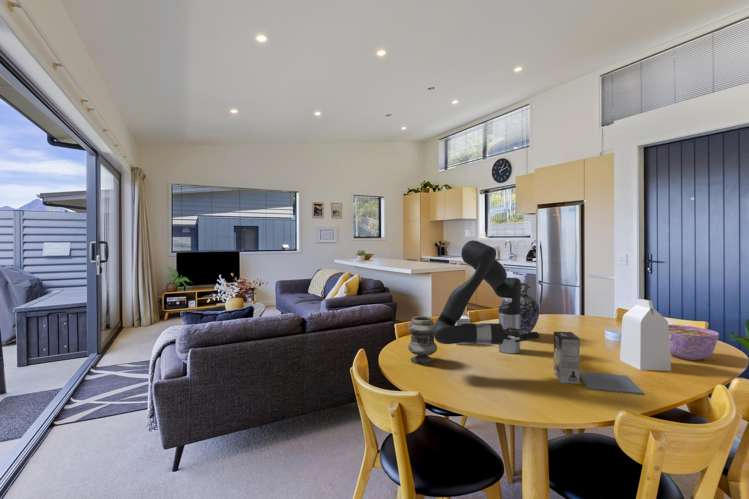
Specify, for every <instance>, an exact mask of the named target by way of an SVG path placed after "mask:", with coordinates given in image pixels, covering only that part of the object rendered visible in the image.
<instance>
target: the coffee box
mask: <svg viewBox="0 0 749 499" xmlns="http://www.w3.org/2000/svg"><path fill="white" fill-rule="evenodd" d="M580 342H581V341H580V338H579V337H578V336H577V335H576V334H575V333H574V332H572V331H553V374H554V376H555V377H556V378H557V380H558V381H559V382H560V383H561V384H574V385H576V384H577V385H580V376H579V371H580V356H581V354H580V346H581V345H580Z"/></svg>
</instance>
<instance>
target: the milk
mask: <svg viewBox="0 0 749 499" xmlns="http://www.w3.org/2000/svg"><path fill="white" fill-rule="evenodd" d="M621 321H622V322H621V335H620V337H621V338H620V348H619V349H620V350H619V352H620V353H619V361H620V360H621V362H622V361H623V362H622V363H624V362H625V364H626V363H627V365H628V364H629V365H628V366H630V365H631V366H630V367H632V366H633V368H634V367H635V368H634V369H636V368H637V369H636V370H638V369H639V371H640V370H660V371H661V372H663V371H665V372H667V371H668V372H670V371H672V362H671V353H670V343H669V326H668V325H669V321H668V320H667V318H665V316H663V315H662V314H661V313H660V312H659V311H657V309H655V308H654V305H653V301H652V300H648V299H643V298H637V299H636V304H635V305H634V306H633V307H631V308H630V309H629V310H628V311H626V312H625V313H624V314H623V316H622V320H621Z"/></svg>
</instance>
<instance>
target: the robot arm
mask: <svg viewBox="0 0 749 499" xmlns="http://www.w3.org/2000/svg"><path fill="white" fill-rule="evenodd" d="M496 258H497V251H496V249H495V248H494V247H493V246H491V245H488V244H486V243H483V242H482V241H478V240H476V239H475V240H472V239H471V240H469V241H467V242H466V243H464V244H463V246H462V248H461V259H462V261H463V262H464V263H465V264H467V265H469V266H470V267H471V268H473V269H474V270H475V271H474V273H473V274H472V276H470V278H469V279H468V280H467V281H465V282H464V283H462V284H461V285H459V286H458V287H456V288H455V289H454V290H453V291H452V292H451V293H450V294H449V296H448V298H447V300H446V303H445V305H444V307H443V309H442V311H441V313H440V315H439V316H438V318H437V319H436V321H435V323H434V324H435V325H434V328H433V333H434V341H436V342H437V343H439V344H442V345H455V344H456V343H462V342H466V343H471V344H480V345H497V346H498V352H501V353H505V354H519V353H521V342H525V341H528V340H529V339H530V340H531V339H532V340H533V339H534V340H538V339H540V333H539V332H538V331H531V332H527V331H524V330H522V329H520V306H521V283H522V282H521V280H520V278H518V277H508V274H507V270H506V268H505V267H504V266H503V264H502V263H500V262H499V261H498V260H497V259H496ZM483 280H484V281H485V282H486V283H487V284H488V285H489V286H490V287H491V288H492V290H493V291H494V294H496V296H498V297H500V298H503V299H504V298H512V301H511V302H510V303H508V304H505V305H501V304H500V305H499V306H498V323H495V322H494V323H493V322H491V323H490V322H487V323H486V322H479V323H478V322H477V323H463V324H461V325H456V326H455V324H456V322H457V321H458V320H459V319H460V318H461V316H463V314H464V312H465V310H466V308H467V306H468V303H469V302H470V300H471V299H472V296H473V295H474V293H475V292H476V290H477V289H478V288H479V286H480V285H481V283H482V282H483ZM456 345H457V344H456Z"/></svg>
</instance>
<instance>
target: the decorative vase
mask: <svg viewBox="0 0 749 499" xmlns="http://www.w3.org/2000/svg"><path fill="white" fill-rule="evenodd" d="M529 289H531V286H530V285H529V283H525V282H521V306H520V329H522V330H524V331H527V332H533V330H534V328H535V327H536V326H537V322H538V320H539V317H540V316H539V314H540V306H539V303H538V300H536V298H534V297H533V296H529V294H528V290H529ZM511 301H512V298H503V299H502V300H501V303H500V306H501V305H505V304H508V303H510V302H511Z"/></svg>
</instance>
